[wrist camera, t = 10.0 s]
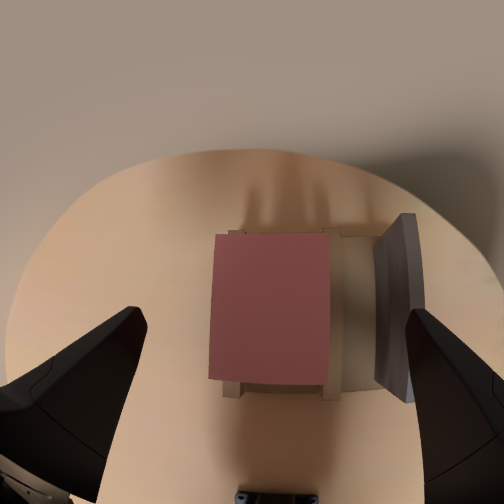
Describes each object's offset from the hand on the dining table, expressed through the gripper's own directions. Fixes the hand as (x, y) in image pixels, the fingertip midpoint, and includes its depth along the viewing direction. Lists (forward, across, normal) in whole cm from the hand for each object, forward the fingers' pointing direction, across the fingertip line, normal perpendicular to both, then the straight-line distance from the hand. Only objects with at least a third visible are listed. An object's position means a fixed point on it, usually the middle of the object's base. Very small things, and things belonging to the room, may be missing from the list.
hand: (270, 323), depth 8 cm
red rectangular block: (+7, 0, +6) cm, 9 cm away
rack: (+8, -2, +7) cm, 11 cm away
